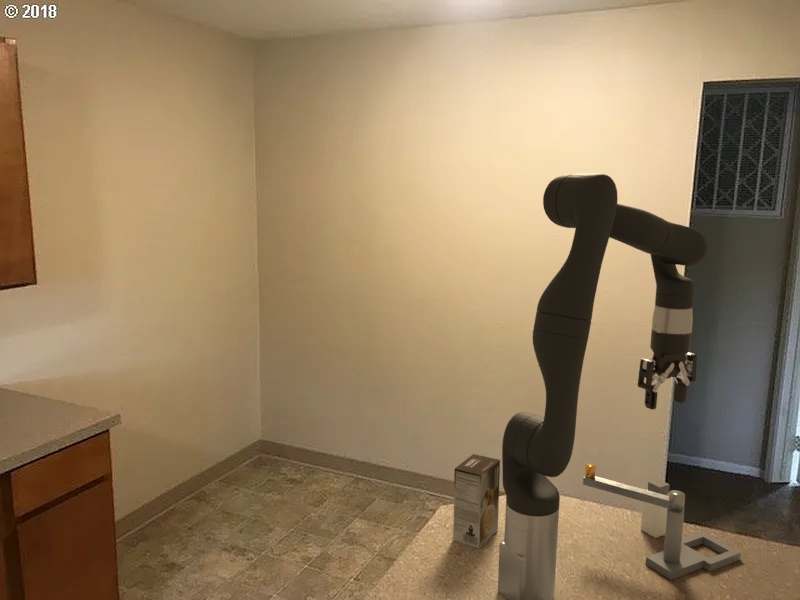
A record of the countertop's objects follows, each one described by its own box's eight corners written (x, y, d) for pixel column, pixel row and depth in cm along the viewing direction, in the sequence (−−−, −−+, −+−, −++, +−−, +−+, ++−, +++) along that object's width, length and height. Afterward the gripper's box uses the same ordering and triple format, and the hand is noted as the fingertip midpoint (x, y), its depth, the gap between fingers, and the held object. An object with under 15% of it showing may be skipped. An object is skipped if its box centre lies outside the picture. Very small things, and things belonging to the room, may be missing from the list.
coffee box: (471, 522, 148) (473, 452, 145) (498, 530, 144) (501, 459, 142) (451, 541, 140) (453, 467, 137) (480, 550, 137) (482, 475, 134)
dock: (677, 584, 126) (682, 525, 124) (639, 560, 134) (644, 504, 132) (740, 559, 134) (746, 503, 132) (701, 538, 142) (706, 485, 140)
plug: (655, 538, 142) (660, 488, 140) (640, 529, 146) (644, 481, 144) (669, 533, 144) (673, 484, 142) (653, 525, 147) (657, 477, 145)
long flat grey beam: (685, 507, 130) (687, 488, 129) (681, 513, 127) (683, 493, 127) (587, 480, 141) (588, 462, 140) (582, 485, 139) (583, 466, 138)
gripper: (680, 321, 143) (674, 395, 146) (631, 327, 137) (626, 404, 140) (711, 328, 137) (704, 405, 140) (661, 335, 130) (655, 416, 133)
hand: (665, 405), depth 140 cm, fingers open, 8 cm apart
